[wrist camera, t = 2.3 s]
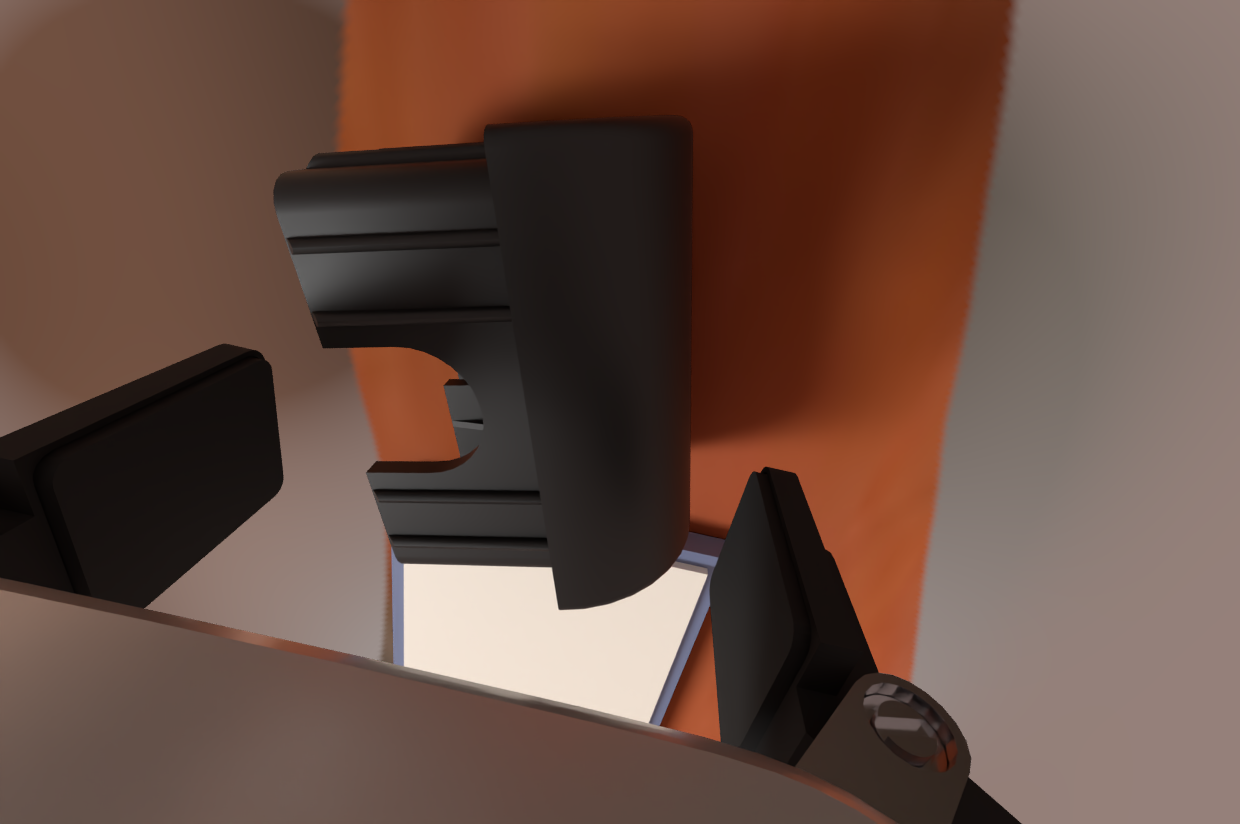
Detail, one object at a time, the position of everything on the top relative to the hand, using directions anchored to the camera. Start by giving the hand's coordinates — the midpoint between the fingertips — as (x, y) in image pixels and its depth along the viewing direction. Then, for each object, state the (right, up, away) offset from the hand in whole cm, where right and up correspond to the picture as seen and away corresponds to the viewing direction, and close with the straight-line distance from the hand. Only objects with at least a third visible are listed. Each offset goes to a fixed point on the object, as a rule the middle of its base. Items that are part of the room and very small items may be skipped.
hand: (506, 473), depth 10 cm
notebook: (-1, -9, +13) cm, 16 cm away
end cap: (+1, +4, +6) cm, 7 cm away
